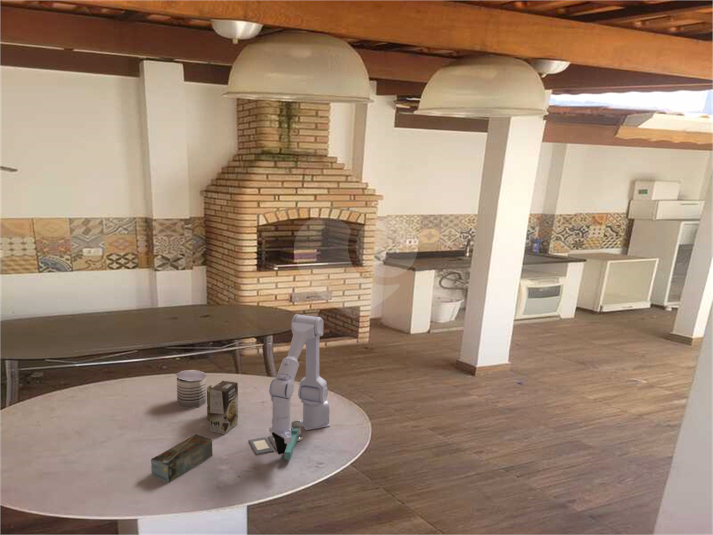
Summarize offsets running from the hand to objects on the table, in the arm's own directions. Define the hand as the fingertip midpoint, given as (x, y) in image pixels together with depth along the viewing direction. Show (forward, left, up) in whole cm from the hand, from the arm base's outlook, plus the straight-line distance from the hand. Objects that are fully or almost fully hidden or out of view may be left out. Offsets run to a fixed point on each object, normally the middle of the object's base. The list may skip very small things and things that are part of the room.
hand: (281, 453), depth 182 cm
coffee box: (+13, -28, -2) cm, 31 cm away
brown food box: (+12, -36, -2) cm, 37 cm away
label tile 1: (+4, -10, -2) cm, 11 cm away
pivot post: (-9, -11, -2) cm, 14 cm away
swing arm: (-5, -4, 0) cm, 7 cm away
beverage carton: (+30, -7, -2) cm, 31 cm away
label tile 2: (-3, -10, -2) cm, 10 cm away
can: (+20, -54, -2) cm, 57 cm away
